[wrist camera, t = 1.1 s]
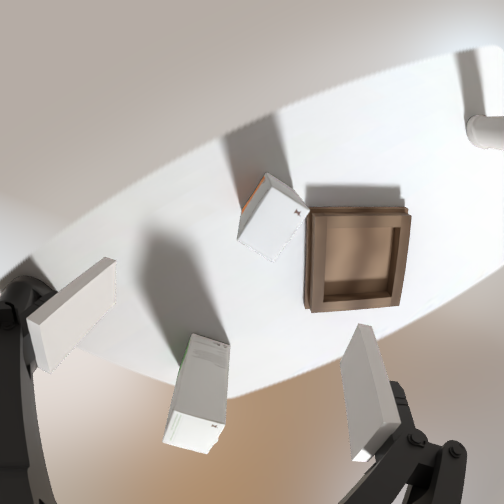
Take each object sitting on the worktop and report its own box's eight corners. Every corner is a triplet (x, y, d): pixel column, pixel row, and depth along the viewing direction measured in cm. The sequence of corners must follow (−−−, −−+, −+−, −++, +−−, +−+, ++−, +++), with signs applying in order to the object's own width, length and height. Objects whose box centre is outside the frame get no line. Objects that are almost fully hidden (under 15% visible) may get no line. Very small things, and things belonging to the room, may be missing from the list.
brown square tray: (304, 305, 44) (307, 316, 41) (306, 207, 39) (310, 212, 37) (393, 298, 44) (401, 308, 41) (405, 207, 39) (415, 212, 37)
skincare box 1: (192, 331, 46) (172, 407, 31) (234, 345, 46) (229, 423, 32) (178, 369, 48) (159, 443, 34) (216, 381, 49) (208, 457, 34)
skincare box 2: (265, 170, 38) (272, 183, 27) (294, 189, 39) (313, 210, 27) (239, 211, 40) (235, 240, 28) (267, 229, 40) (274, 264, 29)
